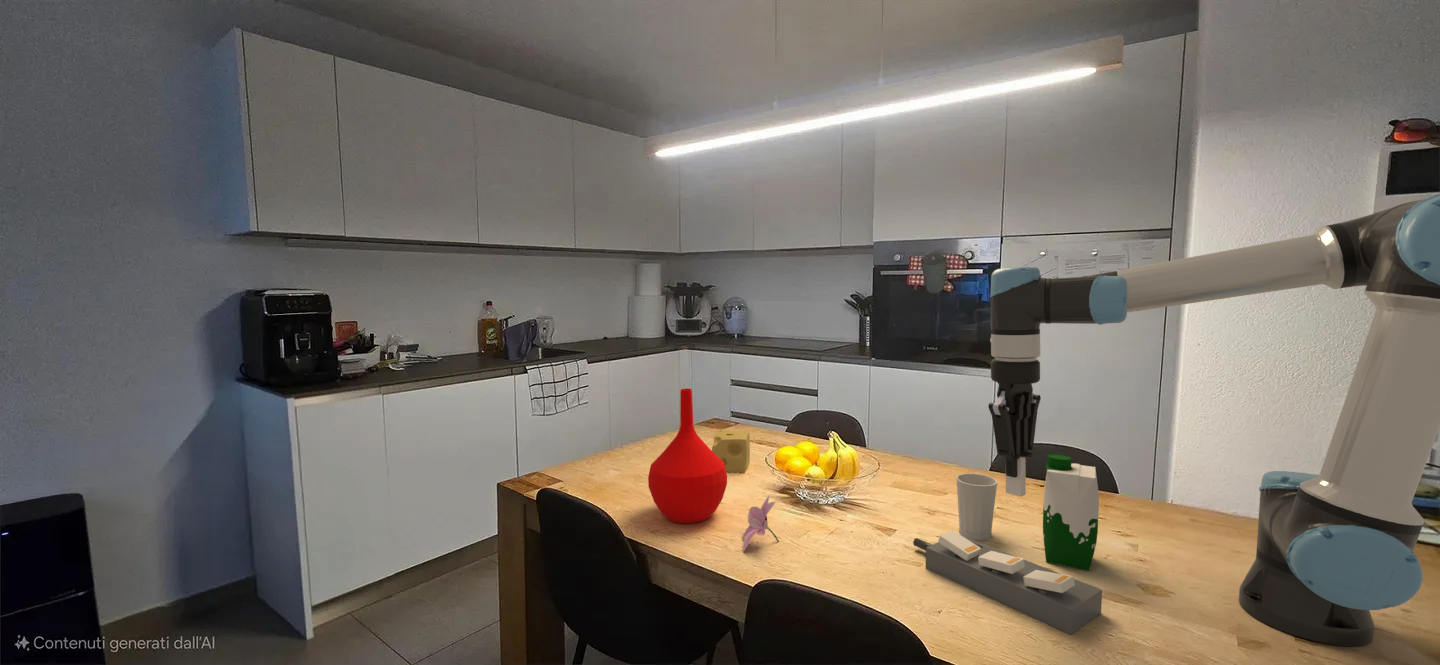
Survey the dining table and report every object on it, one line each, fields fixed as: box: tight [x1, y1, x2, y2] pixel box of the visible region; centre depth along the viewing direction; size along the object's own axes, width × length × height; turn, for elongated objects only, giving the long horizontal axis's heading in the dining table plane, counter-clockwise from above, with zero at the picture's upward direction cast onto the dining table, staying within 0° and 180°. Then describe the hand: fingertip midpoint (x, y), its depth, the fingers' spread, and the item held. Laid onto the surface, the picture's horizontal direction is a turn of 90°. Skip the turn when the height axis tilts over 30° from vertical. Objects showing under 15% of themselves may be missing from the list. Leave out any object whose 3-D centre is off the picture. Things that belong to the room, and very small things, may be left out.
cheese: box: [711, 429, 751, 474], centre depth 172 cm, size 10×11×10 cm
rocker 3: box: [1023, 570, 1075, 593], centre depth 95 cm, size 6×4×2 cm, turn 34°
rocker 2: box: [978, 551, 1025, 574], centre depth 102 cm, size 6×4×2 cm, turn 34°
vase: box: [647, 388, 728, 524], centre depth 136 cm, size 18×18×30 cm
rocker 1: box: [937, 529, 981, 561], centre depth 108 cm, size 6×4×2 cm, turn 35°
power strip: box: [912, 535, 1103, 636], centre depth 105 cm, size 32×10×4 cm, turn 35°
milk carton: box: [1042, 453, 1100, 572], centre depth 113 cm, size 9×9×20 cm
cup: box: [955, 472, 998, 542], centre depth 125 cm, size 8×8×12 cm
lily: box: [741, 494, 780, 553], centre depth 122 cm, size 12×12×10 cm
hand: (1015, 493), depth 102 cm, fingers closed
